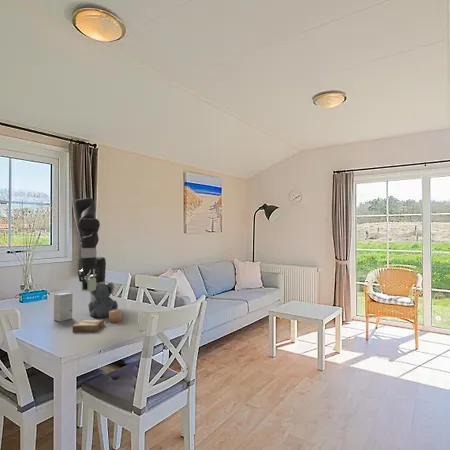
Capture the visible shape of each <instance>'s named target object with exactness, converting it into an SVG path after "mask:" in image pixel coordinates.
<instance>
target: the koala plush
mask: <svg viewBox="0 0 450 450" xmlns="http://www.w3.org/2000/svg"><path fill="white" fill-rule="evenodd" d="M114 292H115V283H114V282H112V281H111V282H108V283H107V284H106V283H105V284H99V285H98V286H96V290H94V291H90V292H89V295H90V294H92V295H94V296H95V298H96V299H97V300H94V302H90V301H89V303H88V311H89V314H90V316H91V317H94V318H96V317H97V318H101V319H102V318H106V317H109V311H110V310H113V309H119V308H118V307H119V305H118V302H117V300H113V298H111V297H110V296H111V295H112V294H113V293H114Z"/></svg>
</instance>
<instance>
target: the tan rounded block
mask: <svg viewBox="0 0 450 450" xmlns="http://www.w3.org/2000/svg"><path fill="white" fill-rule="evenodd" d="M122 321H123V309H119V308H117V309H113V310H110V311H109V316H108V323H110V324H115V323H116V324H118V323H121V322H122Z"/></svg>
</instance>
